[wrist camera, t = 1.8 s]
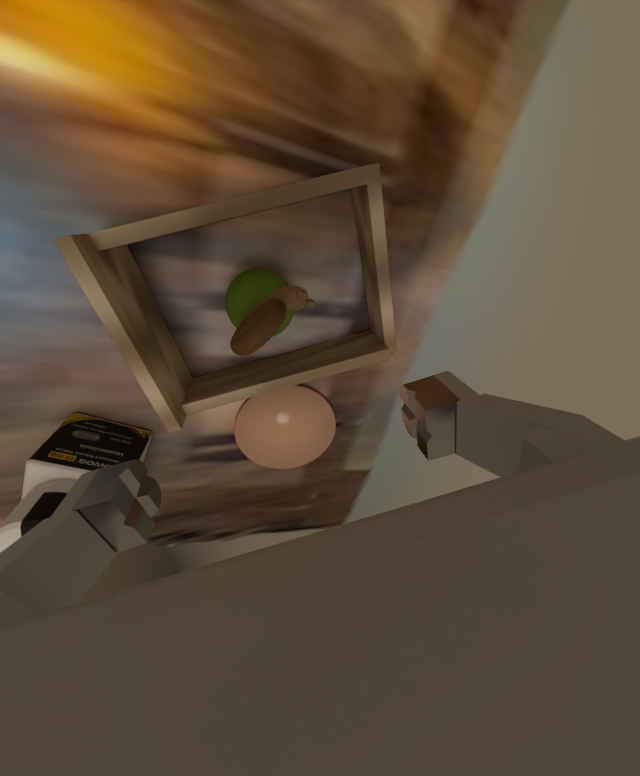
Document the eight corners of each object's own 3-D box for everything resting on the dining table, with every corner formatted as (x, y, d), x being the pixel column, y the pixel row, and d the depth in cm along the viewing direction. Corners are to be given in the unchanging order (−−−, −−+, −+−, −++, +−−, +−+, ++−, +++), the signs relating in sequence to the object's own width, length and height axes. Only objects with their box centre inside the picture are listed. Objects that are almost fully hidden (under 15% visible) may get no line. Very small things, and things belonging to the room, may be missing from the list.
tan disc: (219, 399, 31) (218, 403, 30) (323, 370, 32) (324, 374, 31) (253, 474, 37) (253, 479, 36) (341, 449, 37) (343, 453, 37)
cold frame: (106, 234, 23) (52, 239, 17) (361, 170, 24) (396, 155, 18) (186, 389, 30) (168, 432, 24) (381, 336, 31) (411, 365, 25)
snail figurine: (311, 288, 28) (343, 331, 17) (262, 338, 29) (264, 405, 19) (266, 240, 25) (271, 256, 15) (215, 296, 26) (187, 347, 16)
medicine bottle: (154, 430, 32) (103, 533, 21) (138, 479, 34) (86, 592, 24) (73, 410, 29) (-29, 516, 19) (63, 464, 32) (-32, 583, 21)
